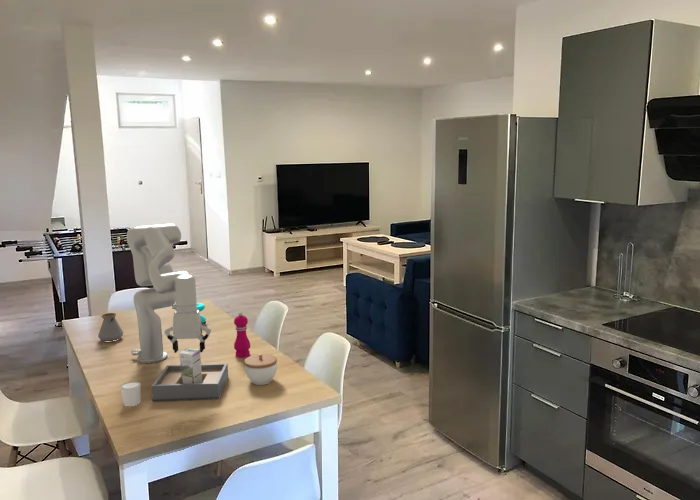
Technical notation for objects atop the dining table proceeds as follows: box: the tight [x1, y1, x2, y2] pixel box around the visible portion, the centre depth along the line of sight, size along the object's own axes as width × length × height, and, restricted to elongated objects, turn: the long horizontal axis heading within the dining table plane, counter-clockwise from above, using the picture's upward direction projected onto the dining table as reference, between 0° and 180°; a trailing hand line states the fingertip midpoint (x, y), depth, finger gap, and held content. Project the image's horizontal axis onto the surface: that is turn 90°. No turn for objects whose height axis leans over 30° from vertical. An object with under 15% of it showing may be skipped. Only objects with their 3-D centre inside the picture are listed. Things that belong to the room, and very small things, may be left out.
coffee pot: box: [97, 312, 124, 342], centre depth 264 cm, size 21×12×15 cm, turn 30°
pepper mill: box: [233, 311, 251, 359], centre depth 243 cm, size 7×7×20 cm
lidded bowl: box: [244, 353, 278, 386], centre depth 215 cm, size 13×13×11 cm
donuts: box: [197, 302, 207, 324], centre depth 295 cm, size 10×10×10 cm
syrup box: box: [179, 348, 202, 384], centre depth 209 cm, size 6×6×14 cm
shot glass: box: [120, 381, 142, 407], centre depth 198 cm, size 7×7×7 cm
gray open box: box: [150, 363, 229, 402], centre depth 209 cm, size 24×20×6 cm
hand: (189, 351), depth 208 cm, fingers open, 9 cm apart
